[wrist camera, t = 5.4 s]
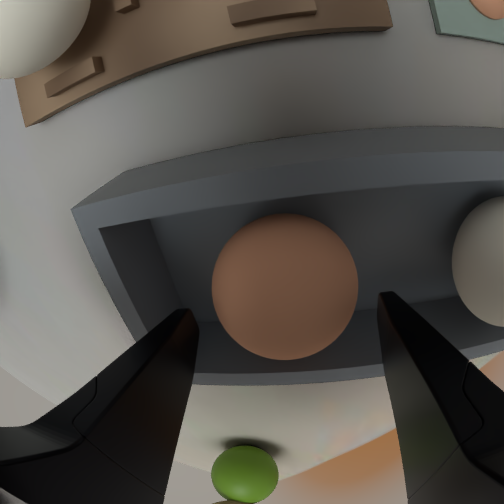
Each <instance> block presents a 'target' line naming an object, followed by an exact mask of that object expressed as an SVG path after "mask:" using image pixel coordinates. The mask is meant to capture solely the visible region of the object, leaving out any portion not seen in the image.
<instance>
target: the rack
mask: <svg viewBox="0 0 504 504" xmlns="http://www.w3.org/2000/svg"><path fill="white" fill-rule="evenodd" d="M391 27H393V24H392V20H391V15H390V11H389V7H388V3H387V0H91V3H90V9H89V12H88V16H87V19H86V21H85V23H84V26H83V28H82V30H81V31H80V33H79V35H78V36H77V38H76V39H75V40H74V42H73V43H72V44H71V46H70V47H69V48H68V49H67V50H66V51H65V52H64V53H63V54H62V55H61V56H60V57H59V58H57V59H56V60H55V61H54V62H52V63H51V64H49V65H48V66H46V67H44V68H43V69H41V70H39V71H37V72H34V73H32V74H30V75H27V76H23V77H19V78H14V79H15V84H16V89H17V94H18V98H19V103H20V107H21V111H22V115H23V119H24V123H25V127H29V126H32V125H34V124H37V123H40V122H42V121H44V120H46V119H47V118H49V117H51V116H53V115H55V114H56V113H58V112H60V111H62V110H64V109H66V108H68V107H70V106H72V105H74V104H75V103H78V102H80V101H82V100H84V99H86V98H88V97H90V96H92V95H94V94H96V93H99V92H101V91H103V90H105V89H108V88H110V87H112V86H114V85H117V84H119V83H122V82H124V81H127V80H129V79H132V78H134V77H137V76H139V75H142V74H145V73H148V72H150V71H153V70H156V69H159V68H162V67H165V66H168V65H171V64H174V63H177V62H180V61H184V60H187V59H190V58H194V57H197V56H201V55H205V54H208V53H212V52H216V51H220V50H224V49H228V48H233V47H237V46H242V45H247V44H252V43H257V42H262V41H268V40H274V39H281V38H287V37H295V36H303V35H312V34H322V33H335V32H353V31H385V30H387V29H389V28H391Z"/></svg>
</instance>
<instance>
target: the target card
mask: <svg viewBox="0 0 504 504" xmlns="http://www.w3.org/2000/svg"><path fill="white" fill-rule="evenodd" d="M429 3H430V7H431V11H432V15H433V19H434V24H435V29H436V33H437V34H444V35H452V36H460V37H467V38H473V39H479V40H484V41H489V42H494V43H499V44H503V45H504V0H429Z"/></svg>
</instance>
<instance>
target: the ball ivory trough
mask: <svg viewBox="0 0 504 504" xmlns="http://www.w3.org/2000/svg"><path fill="white" fill-rule="evenodd" d="M452 273H453V279H454V282H455V286H456V289H457V291H458V293H459V296H460V297H461V299H462V301H463V302H464V304H465V305H466V307H467V308H468V309H469V310H470V311H471V312H472V313H473V314H474V315H475V316H476V317H478V318H479V319H481V320H482V321H484V322H486V323H488V324H491V325H495V326H501V327H504V196H499V197H494V198H491V199H489V200H487V201H485V202H483V203H481V204H480V205H478V206H477V207H476V208H474V209H473V210H472V211H471V212H470V213H469V215H468V216H467V217H466V218H465V220H464V221H463V223H462V224H461V226H460V228H459V230H458V233H457V235H456V239H455V242H454V246H453V252H452Z"/></svg>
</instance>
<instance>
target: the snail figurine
mask: <svg viewBox="0 0 504 504" xmlns="http://www.w3.org/2000/svg"><path fill="white" fill-rule="evenodd" d="M278 477H279V473H278V468H277V465H276V463H275V461H274V460H273V458H272V457H271V456H270V455H269V454H268V453H266V452H265V451H263V450H262V449H259V448H257V447H253V446H236V447H233V448H230V449H228V450H226V451H224V452H223V453H222V454H221V455H219V457H218V458H217V459H216V460H215V462H214V464H213V467H212V471H211V478H212V482H213V485H214V487H215V489H216V490H217V492H218V493H219V494H220V495H221V496H222V497H224V498H225V499H227V501H221V502H216V503H213V504H253V503H257V502H259V501H262V500H264V499H265V498H267V497H268V496H269V495H270V494H271V493H272V492H273V491H274V489H275V487H276V485H277V482H278Z"/></svg>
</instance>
